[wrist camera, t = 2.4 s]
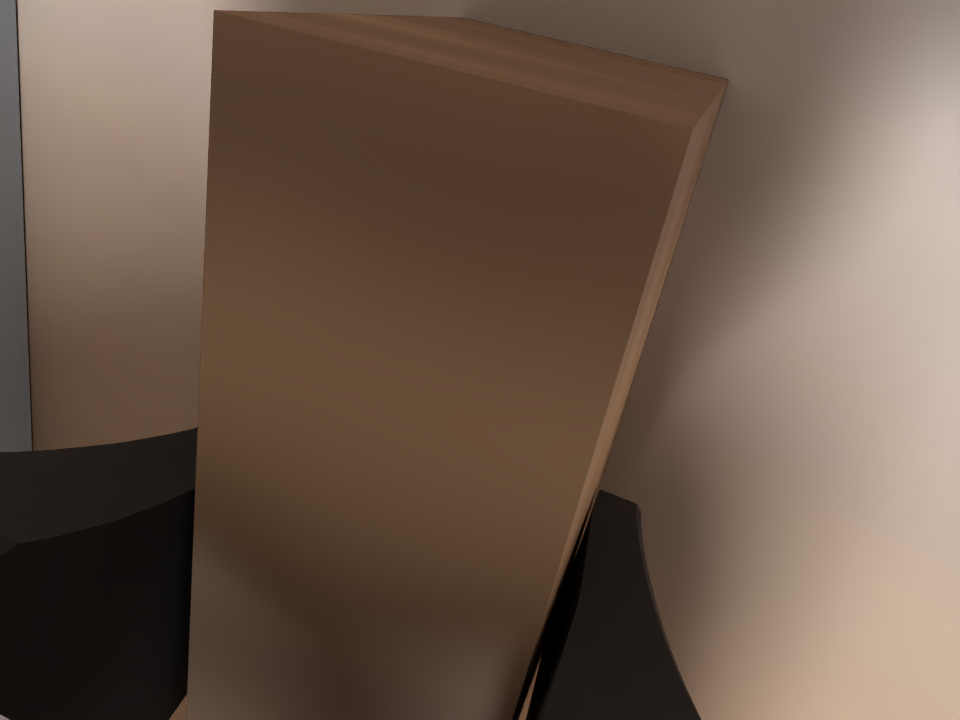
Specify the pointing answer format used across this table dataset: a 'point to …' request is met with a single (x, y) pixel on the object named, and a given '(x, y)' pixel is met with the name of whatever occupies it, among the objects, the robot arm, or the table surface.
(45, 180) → the table surface
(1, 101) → the blue-grey flat rectangular panel
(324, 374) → the walnut plank
